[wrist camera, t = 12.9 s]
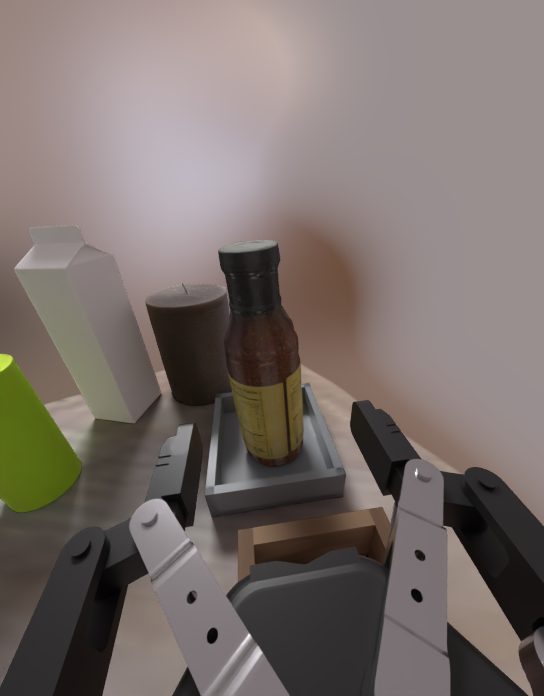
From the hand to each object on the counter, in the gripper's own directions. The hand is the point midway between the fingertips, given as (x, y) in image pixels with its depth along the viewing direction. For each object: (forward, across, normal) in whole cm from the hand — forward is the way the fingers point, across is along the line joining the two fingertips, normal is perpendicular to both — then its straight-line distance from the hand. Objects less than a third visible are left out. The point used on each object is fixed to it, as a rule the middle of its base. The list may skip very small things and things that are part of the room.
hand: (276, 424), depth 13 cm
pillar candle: (+22, +8, +13) cm, 27 cm away
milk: (+19, +18, +13) cm, 30 cm away
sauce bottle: (+9, 0, +12) cm, 15 cm away
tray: (+9, 0, +13) cm, 16 cm away
